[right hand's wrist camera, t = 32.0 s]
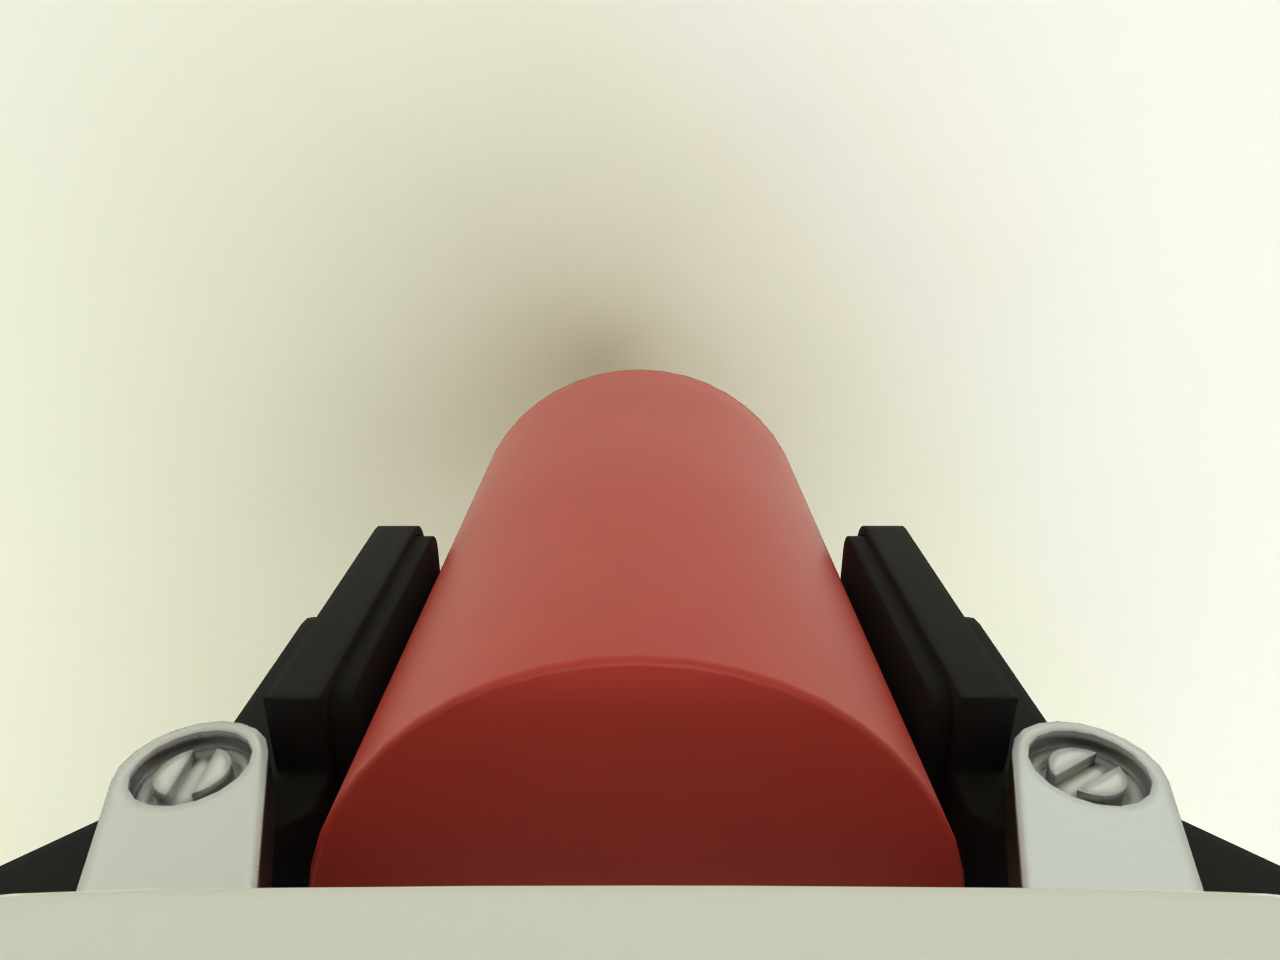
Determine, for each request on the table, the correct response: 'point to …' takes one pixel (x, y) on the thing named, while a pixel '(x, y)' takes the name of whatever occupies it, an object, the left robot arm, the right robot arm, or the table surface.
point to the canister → (637, 677)
